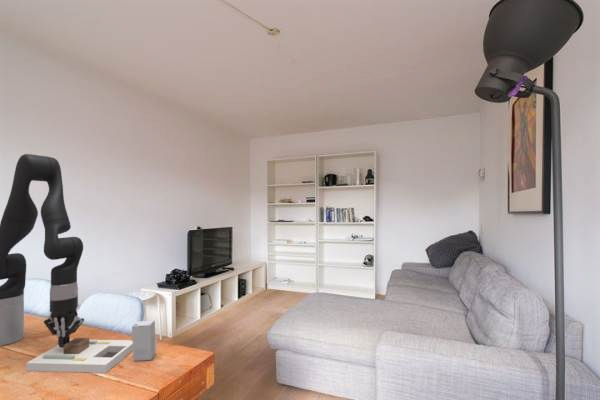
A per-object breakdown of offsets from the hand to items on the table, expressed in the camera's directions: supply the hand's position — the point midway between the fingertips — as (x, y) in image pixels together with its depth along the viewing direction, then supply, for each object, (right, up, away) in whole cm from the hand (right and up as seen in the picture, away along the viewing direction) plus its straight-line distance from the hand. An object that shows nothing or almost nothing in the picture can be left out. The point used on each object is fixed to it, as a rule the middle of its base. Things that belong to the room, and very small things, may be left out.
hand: (64, 346), depth 101 cm
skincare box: (+27, -4, 0) cm, 28 cm away
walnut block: (+4, -1, 0) cm, 4 cm away
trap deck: (+7, -4, 0) cm, 8 cm away
